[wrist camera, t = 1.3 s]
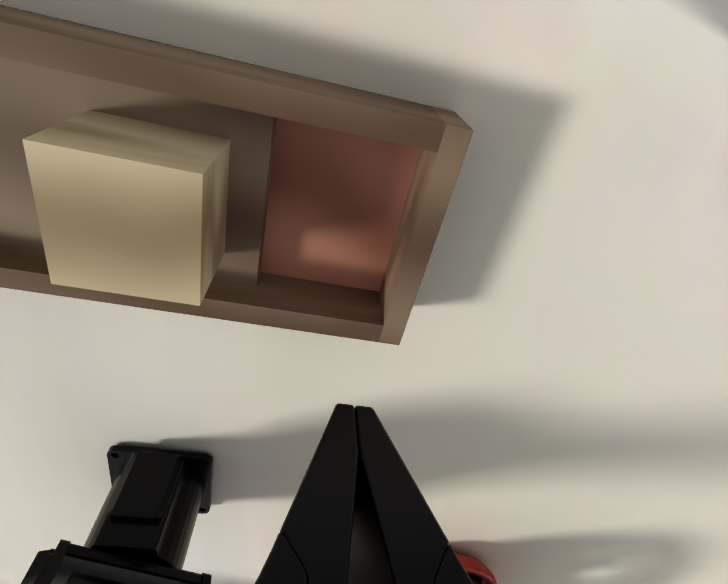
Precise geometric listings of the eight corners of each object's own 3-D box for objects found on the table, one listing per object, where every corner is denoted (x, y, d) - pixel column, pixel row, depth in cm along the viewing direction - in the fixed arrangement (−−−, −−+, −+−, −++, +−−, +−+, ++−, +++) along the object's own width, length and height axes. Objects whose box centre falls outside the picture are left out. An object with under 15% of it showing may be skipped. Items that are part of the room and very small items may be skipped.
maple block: (224, 252, 19) (200, 305, 16) (103, 232, 19) (51, 283, 15) (230, 139, 17) (202, 174, 13) (89, 109, 16) (22, 139, 13)
